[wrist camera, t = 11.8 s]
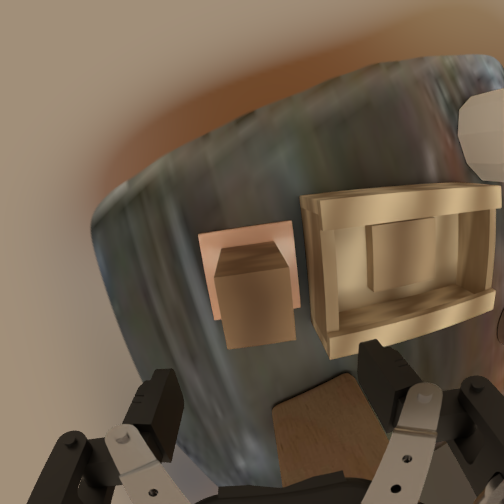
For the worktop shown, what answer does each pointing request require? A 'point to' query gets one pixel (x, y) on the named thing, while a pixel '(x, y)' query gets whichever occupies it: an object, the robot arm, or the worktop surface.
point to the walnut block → (254, 295)
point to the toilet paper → (483, 134)
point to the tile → (245, 236)
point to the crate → (398, 260)
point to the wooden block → (328, 433)
